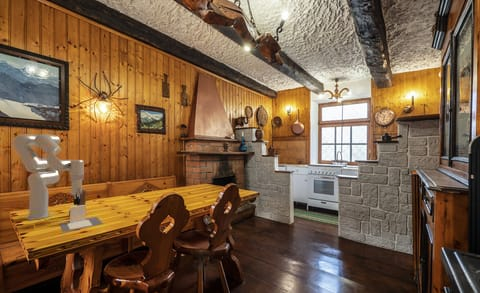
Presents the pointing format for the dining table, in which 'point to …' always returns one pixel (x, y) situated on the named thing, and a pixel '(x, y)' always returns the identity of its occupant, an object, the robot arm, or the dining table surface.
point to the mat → (80, 224)
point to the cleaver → (81, 199)
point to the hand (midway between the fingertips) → (76, 204)
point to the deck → (77, 213)
